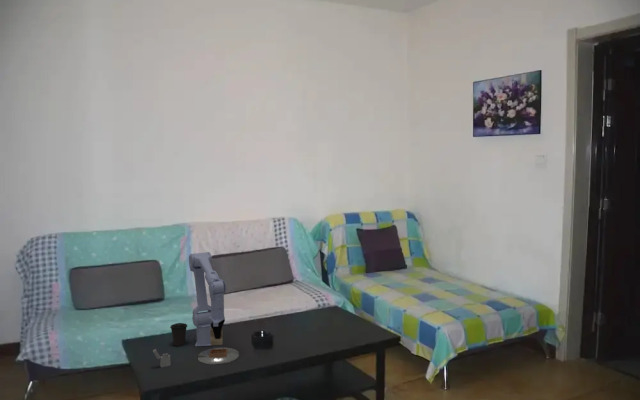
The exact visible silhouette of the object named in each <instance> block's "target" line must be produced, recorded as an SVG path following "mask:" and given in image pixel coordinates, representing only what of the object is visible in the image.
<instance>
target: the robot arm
mask: <svg viewBox="0 0 640 400" xmlns="http://www.w3.org/2000/svg"><path fill="white" fill-rule="evenodd" d="M212 259H213V257H212V254H211V252H210V251H206V252H198V253H190V254H189V256H188V265H189V271H190V272H193V278H194V283H195V292H196V302H197V306H195V308H194V309H193V310H192V324H193V326H195V327H196V328H195V329H196V342H195V345H194V347H210V346H213V345H211V334H210V329H211V327H212V329H213V332H214V336H215V339H220V337H221V330H222V327H223V326H224V324H225V321H226V318H225V299H224V298H225V293H226V291H227V288H226V282H225V280H224V279H221V278H220V276H219V275H218V273H217V271H216V270H214V269H213V267H212V261H213V260H212ZM206 283H207V285H208V292H209V298H210V304H209V302H208V295H207V288H206V287H207V286H206Z"/></svg>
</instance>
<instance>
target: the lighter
mask: <svg viewBox="0 0 640 400" xmlns="http://www.w3.org/2000/svg"><path fill="white" fill-rule="evenodd" d="M152 352H153V354H154V355H155V357H156V359H157V360H159V362H160V363H159V364H160V368H167V367H171V364H172V363H171V354H169V353H167V352H166V353H162V355H160V354H159V352H158V351H157V349H156V348H154V349H153V350H152Z"/></svg>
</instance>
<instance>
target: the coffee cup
mask: <svg viewBox="0 0 640 400" xmlns="http://www.w3.org/2000/svg"><path fill="white" fill-rule="evenodd" d="M187 327H188V324H187V323H184V322H178V323H174V324H171V325H170V327H169V328H170V330H171V336H172V343H173V346H174V347H182V346H185V345H186V339H187V338H186V337H187V336H186V335H187Z"/></svg>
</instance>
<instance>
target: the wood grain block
mask: <svg viewBox="0 0 640 400" xmlns="http://www.w3.org/2000/svg"><path fill="white" fill-rule="evenodd" d="M223 330H224V329H223V327H222V330H221V337H220V339H215V336H214V332H213V329H212V327H211V329H210V334H211V345H212V346H219V345H220V346H221V345H223V342H224V338H223V337H224V335H223V334H224V332H223Z"/></svg>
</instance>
